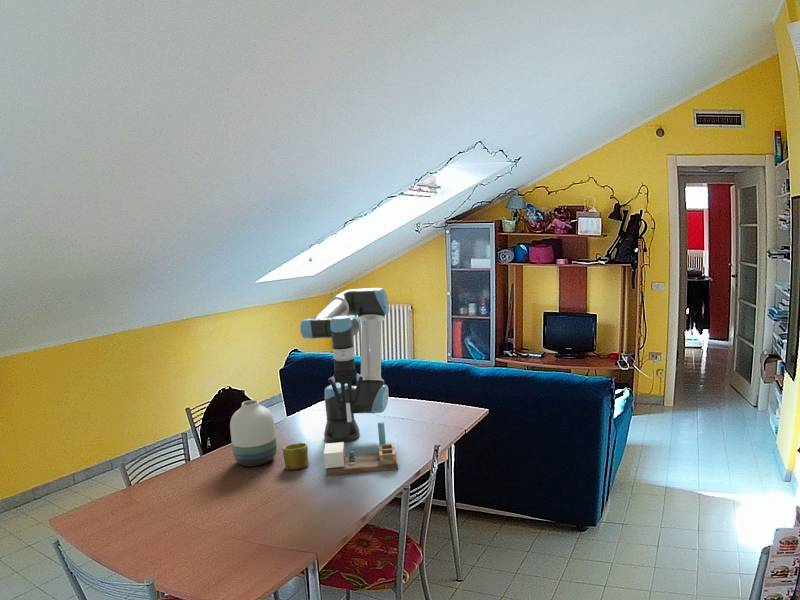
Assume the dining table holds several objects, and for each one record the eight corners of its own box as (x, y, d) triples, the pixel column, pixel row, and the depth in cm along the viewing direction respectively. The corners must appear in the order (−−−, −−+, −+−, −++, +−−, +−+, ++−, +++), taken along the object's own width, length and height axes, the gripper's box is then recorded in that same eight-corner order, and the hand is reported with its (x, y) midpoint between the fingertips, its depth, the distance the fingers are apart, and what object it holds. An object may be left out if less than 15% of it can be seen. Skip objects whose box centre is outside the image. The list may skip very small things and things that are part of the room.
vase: (226, 463, 243) (219, 405, 240) (261, 449, 255) (255, 393, 252) (250, 473, 232) (243, 412, 228) (286, 458, 244) (280, 399, 241)
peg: (380, 451, 244) (377, 422, 242) (386, 451, 244) (384, 422, 242) (380, 454, 241) (377, 424, 240) (386, 453, 241) (384, 424, 240)
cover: (326, 457, 235) (325, 443, 235) (345, 456, 236) (343, 442, 235) (325, 468, 225) (323, 453, 225) (344, 466, 226) (342, 451, 225)
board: (329, 462, 237) (328, 448, 236) (396, 455, 238) (395, 442, 238) (327, 476, 224) (325, 461, 224) (398, 469, 225) (397, 455, 225)
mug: (306, 467, 228) (298, 441, 230) (283, 475, 231) (275, 449, 232) (319, 461, 240) (312, 436, 241) (297, 468, 242) (289, 443, 244)
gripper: (325, 362, 220) (331, 425, 223) (361, 359, 221) (367, 422, 224) (326, 357, 228) (332, 419, 231) (362, 354, 228) (367, 416, 231)
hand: (349, 420), depth 227 cm, fingers closed
